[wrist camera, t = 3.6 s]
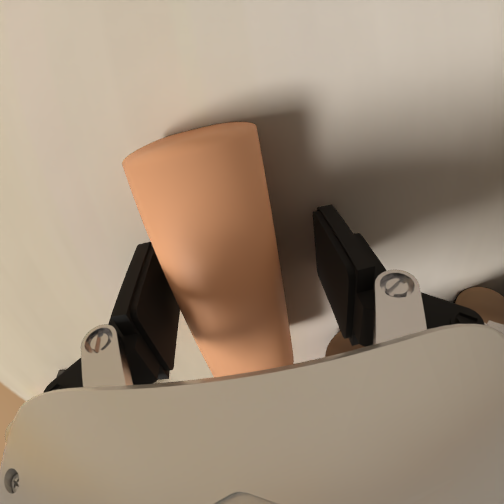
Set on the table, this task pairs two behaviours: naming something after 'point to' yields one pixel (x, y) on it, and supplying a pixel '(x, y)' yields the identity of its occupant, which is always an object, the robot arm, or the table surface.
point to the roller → (216, 242)
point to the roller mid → (483, 303)
